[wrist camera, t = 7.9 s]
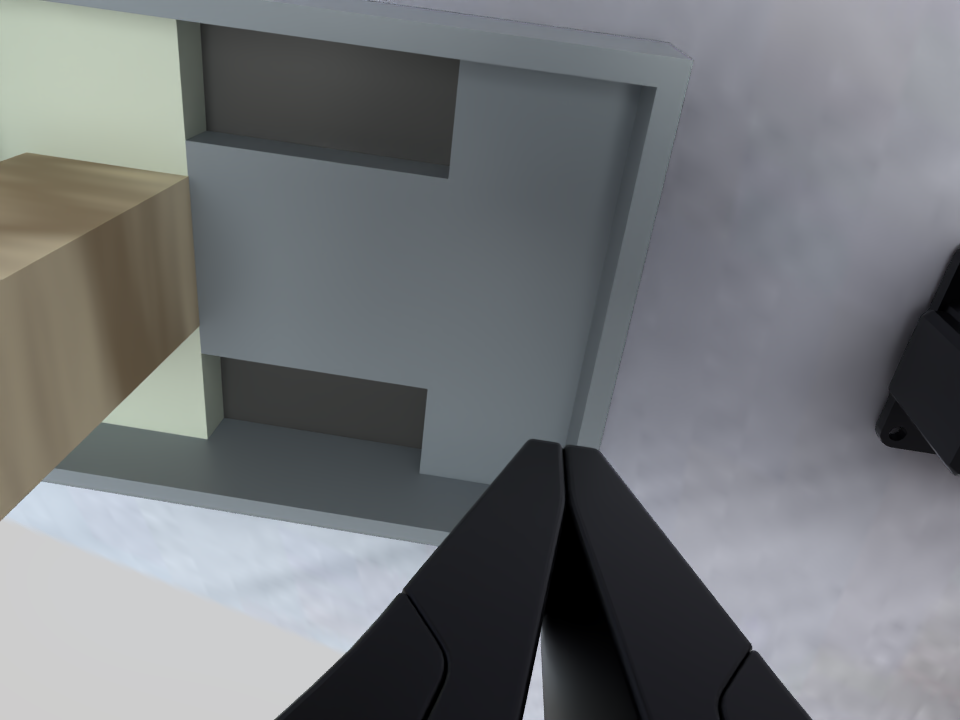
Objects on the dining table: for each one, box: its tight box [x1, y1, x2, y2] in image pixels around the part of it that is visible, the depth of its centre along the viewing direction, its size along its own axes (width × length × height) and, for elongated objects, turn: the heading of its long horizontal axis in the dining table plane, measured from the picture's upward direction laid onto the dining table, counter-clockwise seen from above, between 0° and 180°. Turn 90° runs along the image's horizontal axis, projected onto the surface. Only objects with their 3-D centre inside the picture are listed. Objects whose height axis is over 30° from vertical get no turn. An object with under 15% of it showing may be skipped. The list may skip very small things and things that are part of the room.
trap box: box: [0, 0, 694, 546], centre depth 20 cm, size 18×14×4 cm
